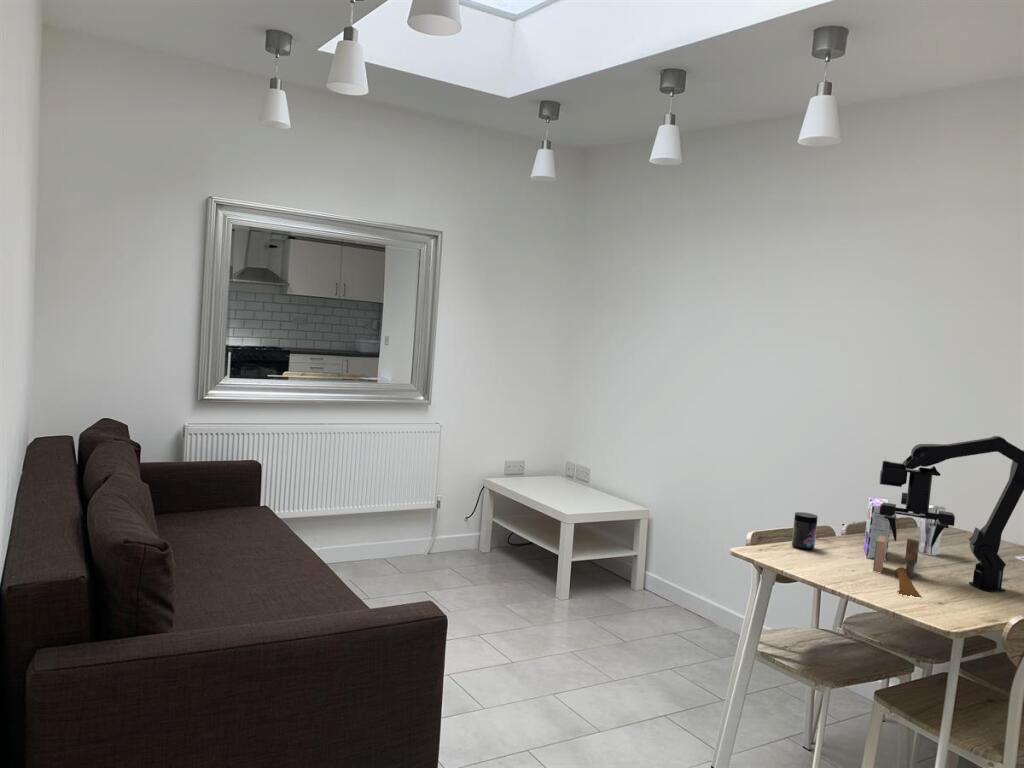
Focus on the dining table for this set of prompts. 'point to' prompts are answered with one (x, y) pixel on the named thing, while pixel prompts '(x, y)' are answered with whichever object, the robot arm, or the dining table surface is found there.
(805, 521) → the supplement container
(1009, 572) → the dining table surface
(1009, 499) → the robot arm
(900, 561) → the dining table surface
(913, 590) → the primitive tool
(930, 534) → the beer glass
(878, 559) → the tan block
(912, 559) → the two-tone stacked blocks
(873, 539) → the candy box
